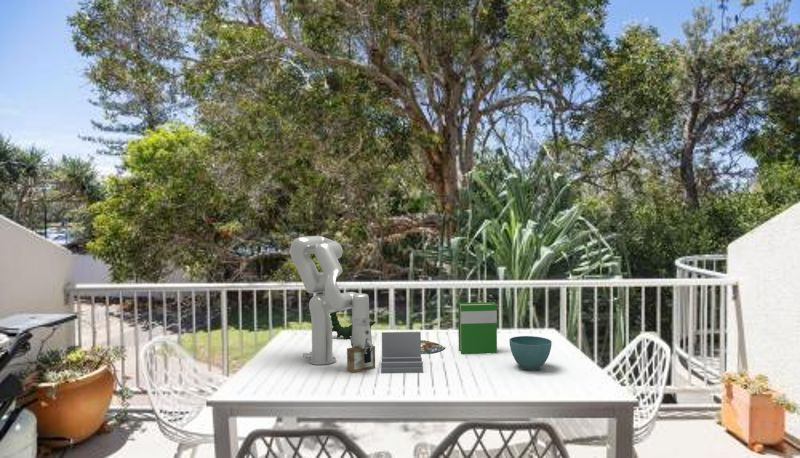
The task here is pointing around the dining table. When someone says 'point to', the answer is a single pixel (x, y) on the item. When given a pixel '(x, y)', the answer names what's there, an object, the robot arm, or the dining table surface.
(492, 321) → the hardback book
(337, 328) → the toy figurine
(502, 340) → the dining table surface
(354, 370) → the picture frame
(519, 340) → the teal bowl
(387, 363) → the display ledge
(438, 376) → the dining table surface
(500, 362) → the dining table surface
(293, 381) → the dining table surface
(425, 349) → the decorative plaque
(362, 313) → the robot arm
